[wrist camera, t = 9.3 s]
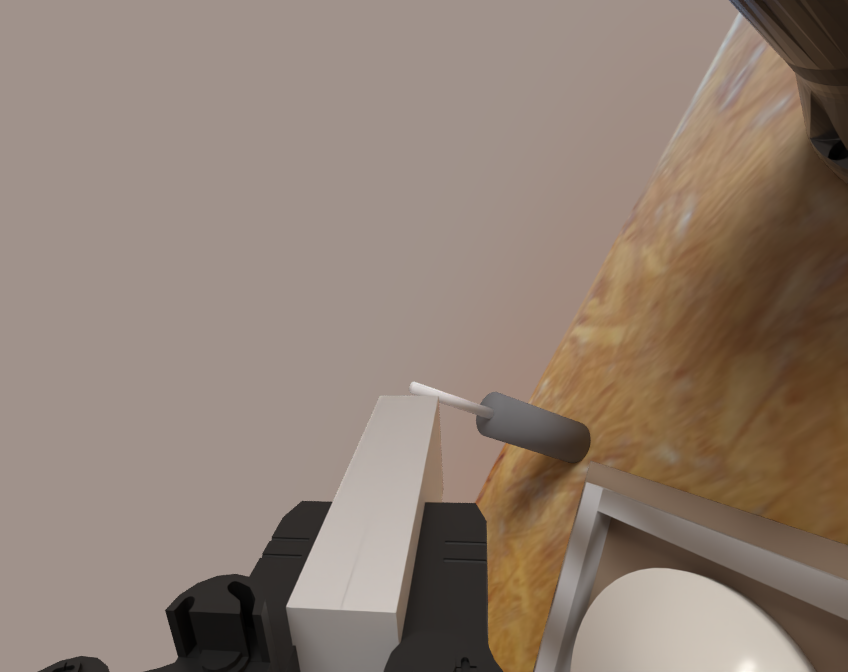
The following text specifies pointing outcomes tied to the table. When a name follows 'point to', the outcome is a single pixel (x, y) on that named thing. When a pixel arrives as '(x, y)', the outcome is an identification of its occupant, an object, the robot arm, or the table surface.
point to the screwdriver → (520, 424)
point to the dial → (681, 629)
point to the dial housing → (697, 562)
